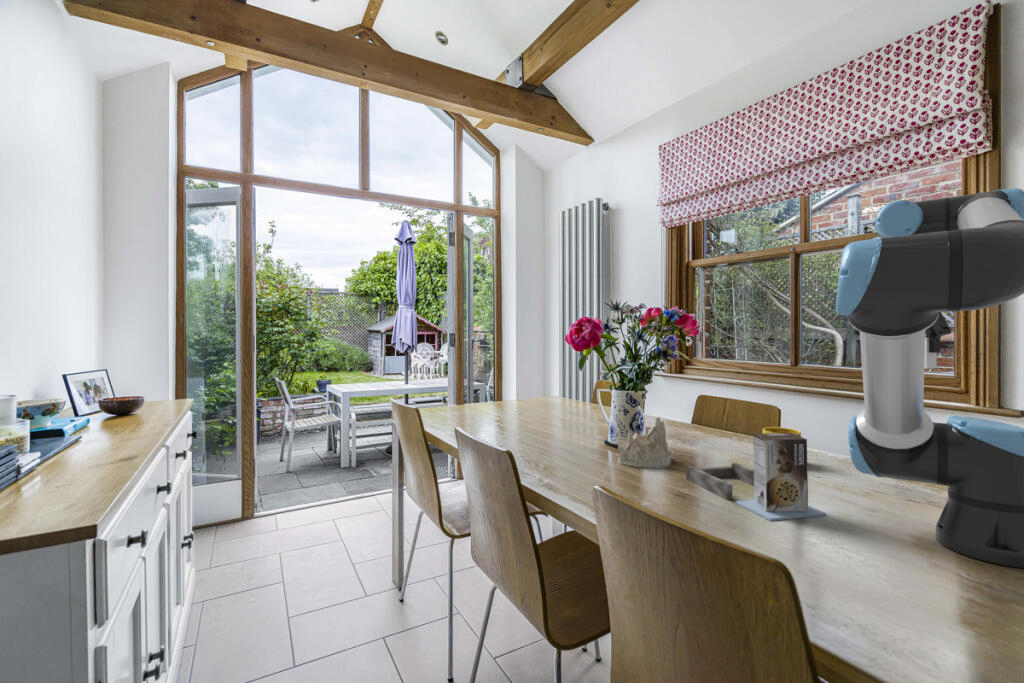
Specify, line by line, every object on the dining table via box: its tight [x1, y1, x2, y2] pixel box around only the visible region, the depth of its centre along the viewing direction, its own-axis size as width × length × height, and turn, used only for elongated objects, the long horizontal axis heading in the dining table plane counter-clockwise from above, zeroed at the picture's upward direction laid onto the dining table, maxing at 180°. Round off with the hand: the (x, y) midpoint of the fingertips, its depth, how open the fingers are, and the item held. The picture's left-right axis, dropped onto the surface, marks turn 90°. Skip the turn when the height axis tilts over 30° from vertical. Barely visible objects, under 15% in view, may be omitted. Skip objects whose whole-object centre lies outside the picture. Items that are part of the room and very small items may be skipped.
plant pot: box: [761, 426, 802, 437], centre depth 148 cm, size 10×10×10 cm
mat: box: [735, 499, 827, 522], centre depth 108 cm, size 11×14×1 cm
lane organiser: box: [685, 462, 754, 501], centre depth 125 cm, size 18×15×4 cm
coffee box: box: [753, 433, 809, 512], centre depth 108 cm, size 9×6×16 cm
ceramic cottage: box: [617, 416, 672, 469], centre depth 151 cm, size 16×16×15 cm
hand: (898, 366), depth 110 cm, fingers open, 13 cm apart
